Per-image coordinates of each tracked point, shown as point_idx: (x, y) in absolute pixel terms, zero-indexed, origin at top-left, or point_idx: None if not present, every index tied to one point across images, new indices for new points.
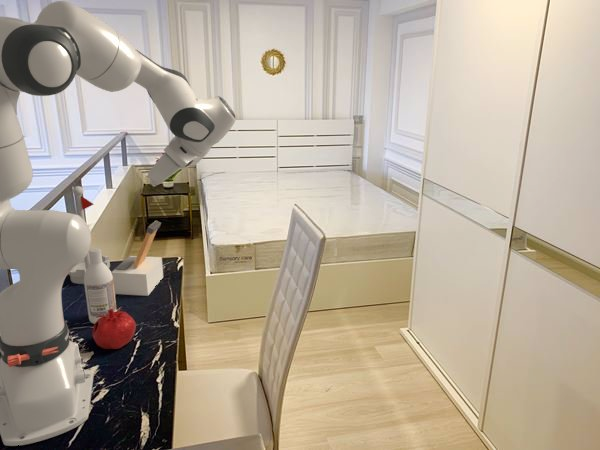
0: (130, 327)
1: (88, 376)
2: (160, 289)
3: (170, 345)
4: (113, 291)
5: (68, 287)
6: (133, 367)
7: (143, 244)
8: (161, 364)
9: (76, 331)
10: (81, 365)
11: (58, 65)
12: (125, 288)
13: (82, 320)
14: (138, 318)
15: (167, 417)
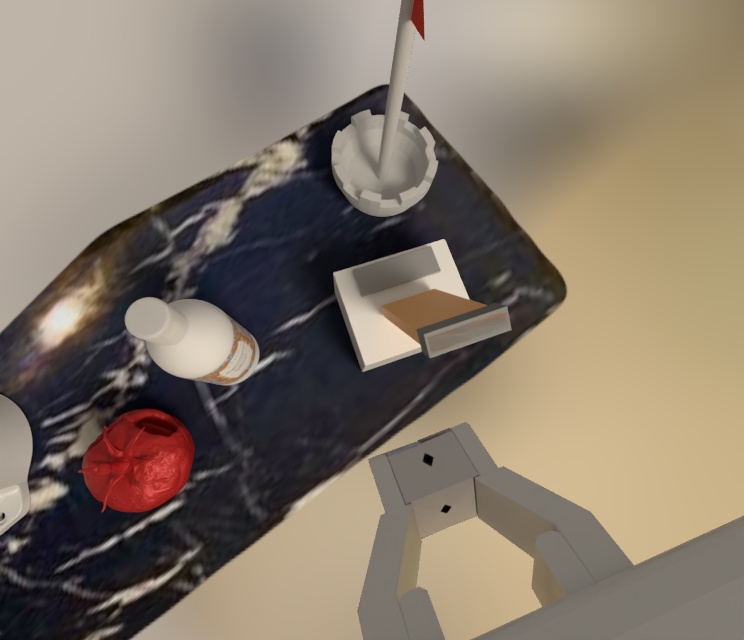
0: (135, 511)
1: (4, 518)
2: (403, 376)
3: (185, 589)
4: (220, 377)
5: (317, 179)
6: (80, 571)
7: (404, 325)
8: (109, 625)
9: None
10: (4, 494)
11: None
12: (344, 316)
13: None
14: (261, 429)
15: None
